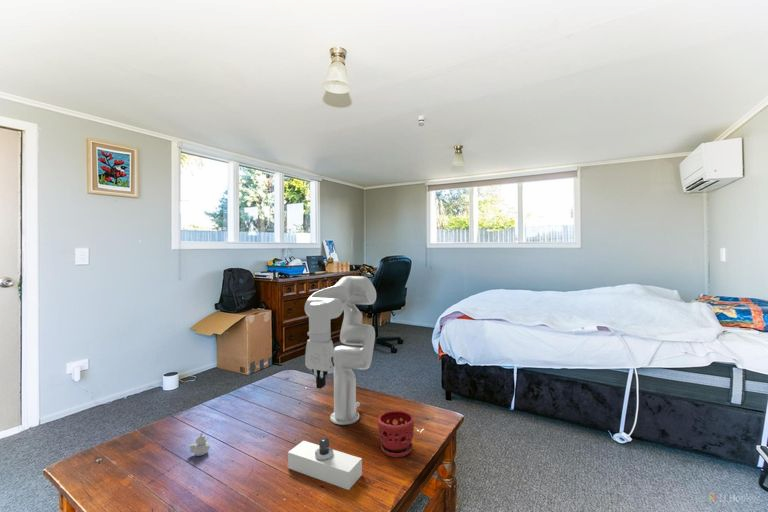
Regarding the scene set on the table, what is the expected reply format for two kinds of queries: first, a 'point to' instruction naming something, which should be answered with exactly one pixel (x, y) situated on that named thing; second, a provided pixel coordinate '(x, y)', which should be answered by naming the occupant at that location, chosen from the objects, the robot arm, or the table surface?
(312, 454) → the bar
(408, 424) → the plant pot
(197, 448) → the grey rounded lumpy piece
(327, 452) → the silver and black post
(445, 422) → the table surface
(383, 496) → the table surface
